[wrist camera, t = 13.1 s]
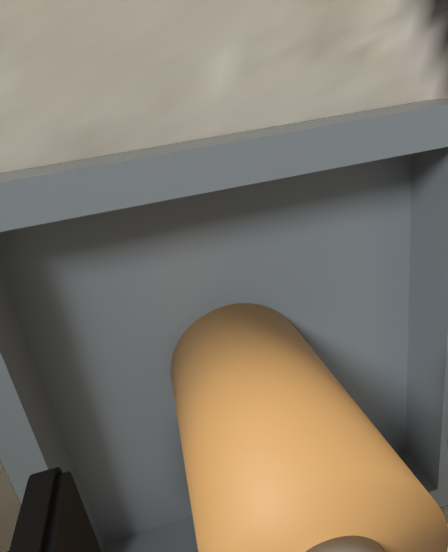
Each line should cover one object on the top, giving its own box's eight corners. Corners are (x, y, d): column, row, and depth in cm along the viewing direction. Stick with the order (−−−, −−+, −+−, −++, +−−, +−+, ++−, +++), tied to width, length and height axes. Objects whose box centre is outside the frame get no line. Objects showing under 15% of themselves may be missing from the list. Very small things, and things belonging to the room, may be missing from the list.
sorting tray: (-66, 184, 11) (-119, 203, 8) (430, 100, 13) (498, 95, 10) (84, 554, 16) (77, 627, 14) (417, 452, 18) (460, 501, 16)
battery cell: (158, 320, 13) (191, 564, 6) (297, 290, 13) (484, 475, 6) (183, 435, 14) (234, 739, 7) (306, 403, 15) (464, 654, 8)
